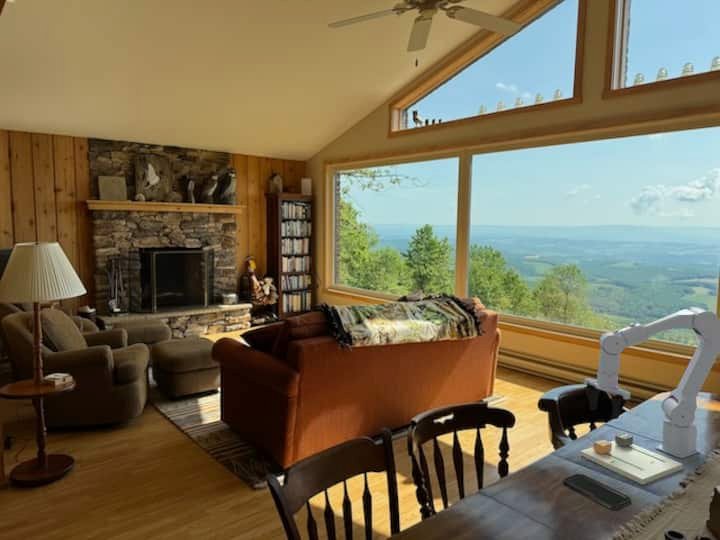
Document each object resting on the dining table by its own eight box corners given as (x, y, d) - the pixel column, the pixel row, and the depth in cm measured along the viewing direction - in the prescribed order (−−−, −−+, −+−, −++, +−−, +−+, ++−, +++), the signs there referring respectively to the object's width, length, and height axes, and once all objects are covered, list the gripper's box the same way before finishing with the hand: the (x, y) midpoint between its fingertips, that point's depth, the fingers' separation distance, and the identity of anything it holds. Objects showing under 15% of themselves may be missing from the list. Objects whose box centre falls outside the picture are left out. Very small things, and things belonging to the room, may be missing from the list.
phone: (580, 472, 136) (633, 498, 123) (580, 476, 136) (632, 503, 123) (560, 479, 132) (613, 507, 119) (560, 483, 132) (612, 511, 119)
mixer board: (619, 443, 156) (619, 438, 156) (682, 469, 139) (682, 463, 139) (580, 455, 147) (580, 450, 147) (642, 484, 131) (642, 479, 131)
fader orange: (602, 447, 149) (602, 439, 149) (611, 451, 146) (611, 442, 146) (593, 450, 147) (593, 441, 147) (602, 454, 144) (602, 445, 144)
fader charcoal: (623, 440, 153) (623, 432, 153) (632, 444, 151) (633, 436, 151) (615, 443, 152) (615, 435, 151) (624, 446, 149) (624, 438, 149)
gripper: (579, 366, 158) (575, 407, 160) (621, 380, 146) (617, 424, 147) (593, 364, 162) (589, 404, 163) (636, 377, 149) (631, 421, 150)
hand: (603, 413), depth 155 cm, fingers open, 7 cm apart
